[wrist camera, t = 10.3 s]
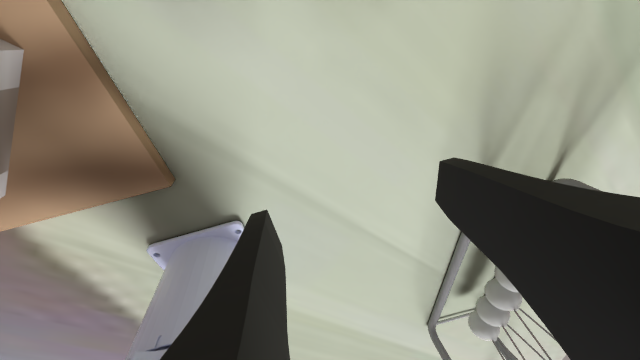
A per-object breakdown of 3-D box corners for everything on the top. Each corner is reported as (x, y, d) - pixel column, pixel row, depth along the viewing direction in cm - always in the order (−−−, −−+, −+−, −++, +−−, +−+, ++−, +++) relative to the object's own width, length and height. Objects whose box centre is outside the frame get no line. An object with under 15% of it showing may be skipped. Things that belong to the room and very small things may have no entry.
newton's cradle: (476, 185, 24) (818, 417, 9) (558, 170, 26) (968, 349, 11) (424, 328, 40) (519, 500, 25) (477, 314, 41) (596, 467, 27)
